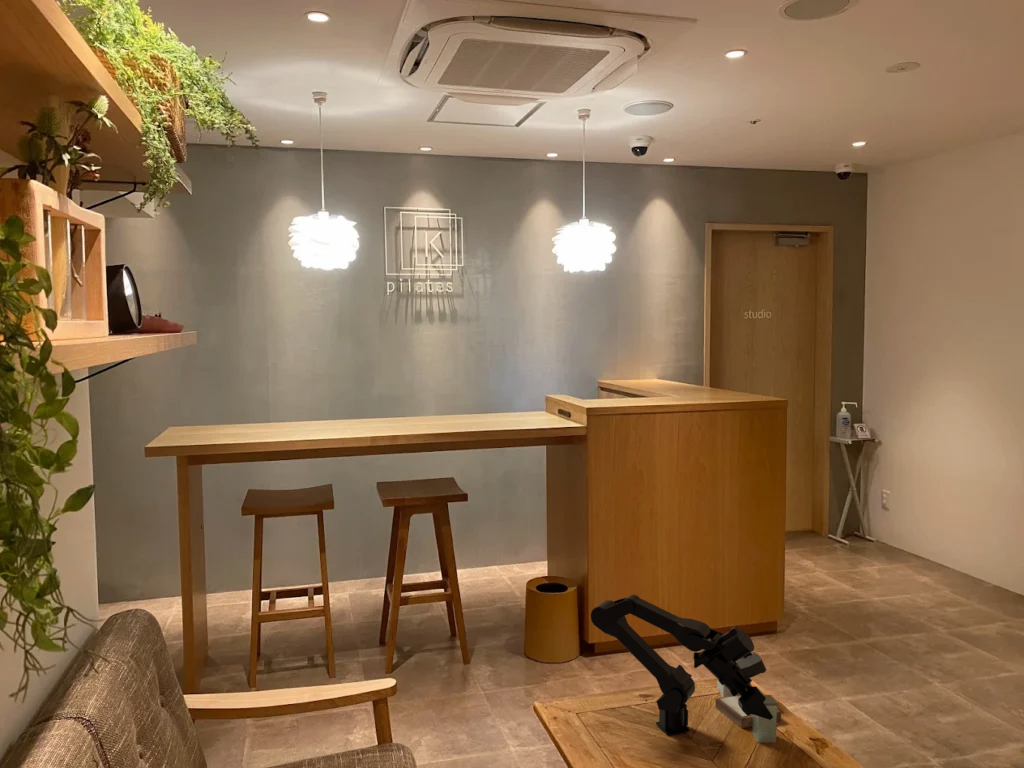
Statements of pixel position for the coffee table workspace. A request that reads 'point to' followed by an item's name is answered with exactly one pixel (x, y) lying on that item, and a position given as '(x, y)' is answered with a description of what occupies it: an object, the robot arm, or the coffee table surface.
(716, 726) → the coffee table surface
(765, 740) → the olive grey square block
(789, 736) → the coffee table surface
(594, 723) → the coffee table surface
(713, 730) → the coffee table surface
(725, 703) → the brown framed square mirror
